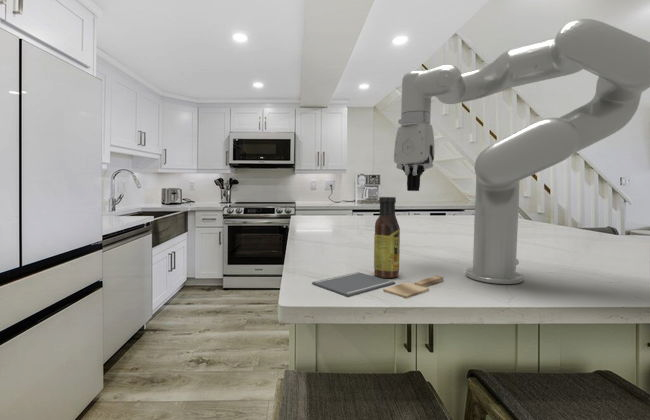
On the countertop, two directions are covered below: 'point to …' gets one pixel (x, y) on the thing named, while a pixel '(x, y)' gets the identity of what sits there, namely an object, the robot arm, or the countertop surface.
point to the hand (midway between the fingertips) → (413, 190)
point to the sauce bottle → (386, 240)
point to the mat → (353, 283)
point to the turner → (413, 287)
